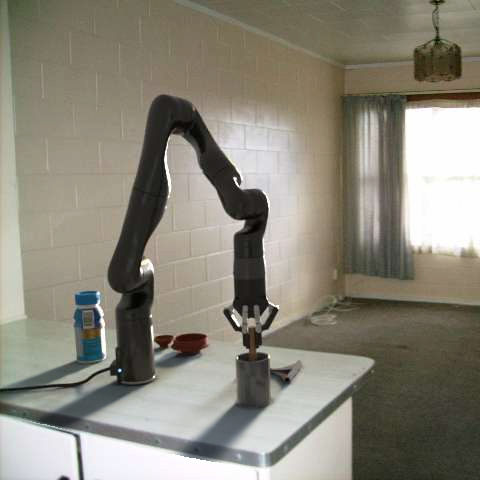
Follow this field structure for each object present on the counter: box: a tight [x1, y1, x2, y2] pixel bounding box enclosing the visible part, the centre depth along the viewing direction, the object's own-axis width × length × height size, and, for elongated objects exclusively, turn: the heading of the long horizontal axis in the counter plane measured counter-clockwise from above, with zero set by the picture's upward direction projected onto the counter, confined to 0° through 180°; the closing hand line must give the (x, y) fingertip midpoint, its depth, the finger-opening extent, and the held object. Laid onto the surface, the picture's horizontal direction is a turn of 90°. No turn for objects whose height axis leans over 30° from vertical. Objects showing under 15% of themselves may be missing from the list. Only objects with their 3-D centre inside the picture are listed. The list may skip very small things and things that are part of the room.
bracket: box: [270, 360, 303, 384], centre depth 171 cm, size 14×15×3 cm
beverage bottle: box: [73, 290, 107, 364], centre depth 185 cm, size 8×8×20 cm
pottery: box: [153, 332, 211, 356], centre depth 194 cm, size 12×20×4 cm, turn 60°
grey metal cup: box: [234, 351, 272, 409], centre depth 150 cm, size 8×8×11 cm
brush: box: [247, 325, 258, 362], centre depth 150 cm, size 4×4×16 cm
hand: (252, 347), depth 149 cm, fingers closed on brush, 2 cm apart
